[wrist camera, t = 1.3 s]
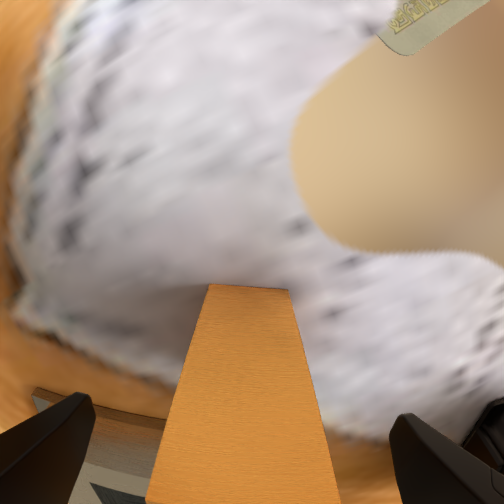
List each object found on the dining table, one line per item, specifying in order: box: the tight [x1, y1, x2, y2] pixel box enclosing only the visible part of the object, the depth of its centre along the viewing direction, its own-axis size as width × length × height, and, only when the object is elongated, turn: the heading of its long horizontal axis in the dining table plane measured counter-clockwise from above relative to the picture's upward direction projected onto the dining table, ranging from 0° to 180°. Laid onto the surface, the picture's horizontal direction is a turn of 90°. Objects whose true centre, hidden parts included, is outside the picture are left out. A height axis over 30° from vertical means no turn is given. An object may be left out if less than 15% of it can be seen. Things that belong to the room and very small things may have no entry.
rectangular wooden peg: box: [145, 284, 341, 504], centre depth 8 cm, size 3×4×9 cm
